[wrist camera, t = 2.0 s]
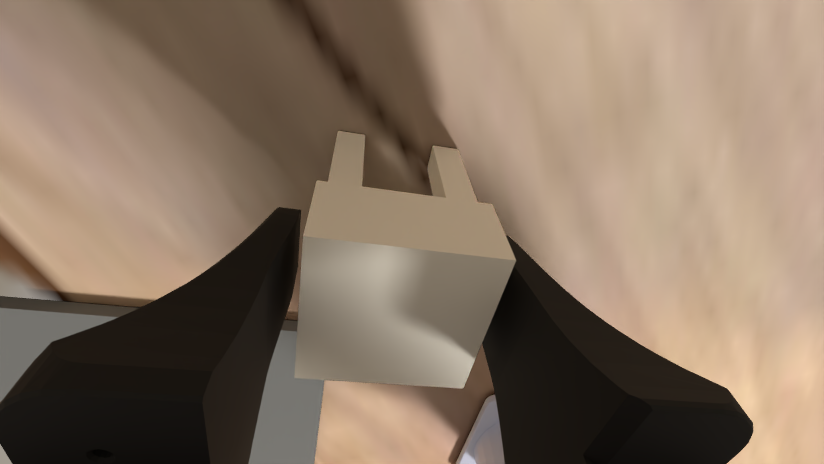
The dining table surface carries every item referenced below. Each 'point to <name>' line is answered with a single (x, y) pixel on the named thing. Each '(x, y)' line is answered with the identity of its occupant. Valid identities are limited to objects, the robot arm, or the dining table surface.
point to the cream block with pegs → (397, 275)
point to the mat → (52, 320)
